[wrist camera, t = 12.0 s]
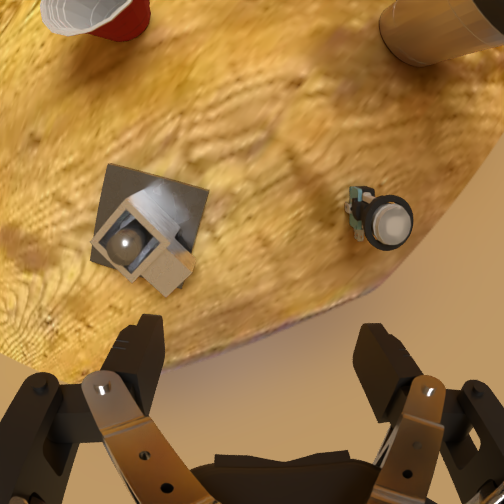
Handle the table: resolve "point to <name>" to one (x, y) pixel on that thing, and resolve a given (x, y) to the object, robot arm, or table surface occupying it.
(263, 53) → the table surface
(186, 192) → the gray square plate
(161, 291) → the grey hollow block
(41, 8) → the plastic cup
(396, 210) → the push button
